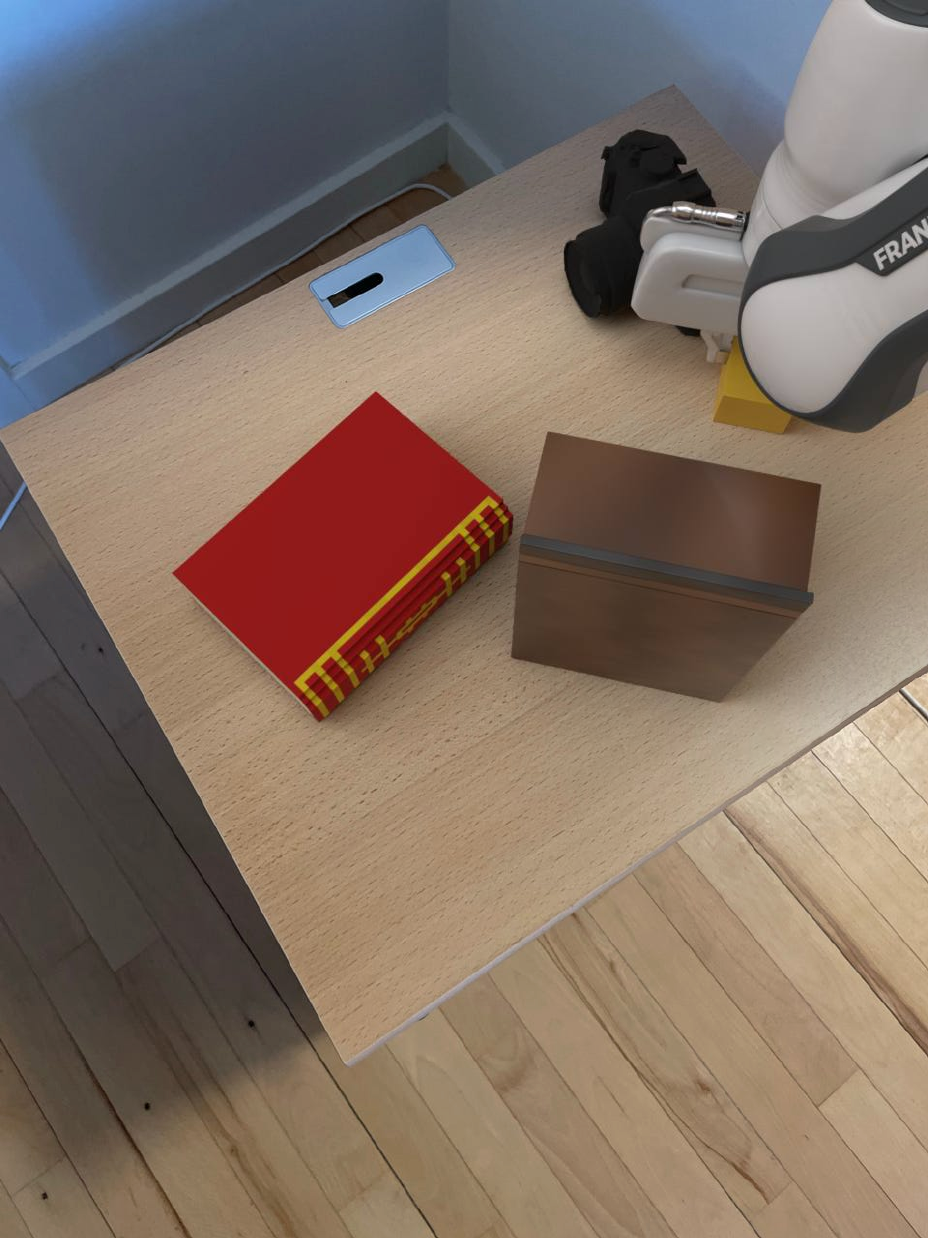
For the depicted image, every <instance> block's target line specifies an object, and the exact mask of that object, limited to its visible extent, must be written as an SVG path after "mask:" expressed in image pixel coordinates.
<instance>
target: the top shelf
mask: <svg viewBox="0 0 928 1238" xmlns="http://www.w3.org/2000/svg"><path fill="white" fill-rule="evenodd" d="M540 456H541V457H540V461H539V465H538V469H537V473H536V478H535V483H534V487H533V491H532V496H531V499H530V504H529V508H528V513H527V516H526V521H525V526H524V530H523V533H521V536H520V540H519V546H518V547H519V549H518V560H520V561H524V562H529V563H534V564H538V565H543V566H548V567H553V568H558V569H563V570H567V571H572V572H577V573H582V574H587V575H592V576H596V577H601V578H606V579H611V580H616V581H621V582H625V583H630V584H635V585H640V586H645V587H650V588H654V589H659V590H664V591H669V592H674V593H679V594H683V595H688V596H693V597H698V598H703V599H708V600H712V601H717V602H722V603H727V604H732V605H737V606H741V607H746V608H751V609H756V610H761V611H766V612H770V613H775V614H780V615H785V616H790V617H795V618H798V619H800V618H801V617H802V616H803V615H804V613H805V612H807V611H808V609H809V608H810V607H811V606H813V604H814V598H815V592H813V591H809V583H810V576H811V568H812V561H813V554H814V552H813V551H814V545H815V537H816V529H817V522H818V515H819V506H820V499H821V492H822V484H821V483H817V482H812V481H806V480H802V479H797V478H791V477H786V476H781V475H777V474H771V473H765V472H760V471H755V470H751V469H750V470H749V469H746V468H745V469H744V468H740V467H735V466H730V465H725V464H719V463H715V462H709V461H705V460H699V459H694V458H688V457H682V456H678V455H673V454H669V453H668V454H667V453H662V452H657V451H651V450H646V449H642V448H636V447H631V446H626V445H621V444H617V443H612V442H606V441H601V440H595V439H592V438H591V439H590V438H585V437H580V436H575V435H571V434H570V435H569V434H565V433H558V432H553V431H547V432H546V435H545V439H544V444H543V447H542V452H541V455H540Z"/></svg>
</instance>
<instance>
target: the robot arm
mask: <svg viewBox="0 0 928 1238" xmlns="http://www.w3.org/2000/svg"><path fill="white" fill-rule="evenodd" d="M640 243H641V246H642V248H643V250H644V253H643V256H642V258H641V262H640V265H639V269H638V273H637V277H636V282H635V286H634V290H633V296H632V301H631V306H632V307H631V308H632V309H633V311H634V313H635V314H636V315H637V316H638V317H639V318H640V319H642V320H645V321H650V322H657V323H662V324H666V325H667V324H668V325H672V326H673V325H674V326H675V325H678V326H684V327H690V328H695V329H701V332H700V336H701V338H702V340H703V342H704V343H705V344H706V347H707V353H706V363H715V364H720V365H722V364H726V363H727V359H728V358H729V355H730V353H731V348H732V341H733V336H738V341H739V346H740V351H741V354H742V357H743V360H744V363H745V365H746V368H747V370H748V372H749V374H750V376H751V377H752V379H753V381H754V382H755V384H756V385H757V387H758V388H759V389H760V391H761V392H762V393H763V394H764V395H765V396H766V397H767V398H768V399H769V400H770V401H771V402H772V403H773V404H774V405H776V406H777V407H778V408H780V409H782V410H783V411H785V412H787V413H789V414H791V415H792V417H794V418H797V419H800V420H801V421H804V422H807V423H810V424H812V425H814V426H819V427H822V428H826V429H830V430H834V431H839V432H845V433H849V434H850V433H851V434H861V433H865V432H868V431H870V430H872V429H873V428H875V427H876V426H878V425H880V424H881V423H882V422H884V421H886V420H887V419H889V418H890V417H891V416H893V415H895V414H896V413H898V412H899V411H900V410H902V409H904V408H905V407H907V406H909V404H910V403H911V402H913V400H914V399H916V398H918V397H919V396H922V394H924V393H926V392H927V391H928V0H832V1H831V3H830V5H829V7H828V8H827V10H826V12H825V14H824V16H823V18H822V19H821V22H820V24H819V25H818V27H817V30H816V32H815V34H814V36H813V39H812V41H811V43H810V45H809V48H808V50H807V53H806V54H805V57H804V59H803V62H802V64H801V67H800V69H799V72H798V75H797V77H796V80H795V83H794V85H793V89H792V91H791V95H790V97H789V100H788V102H787V106H786V110H785V114H784V121H783V139H781V141H780V142H779V143H778V145H777V146H776V148H775V149H774V150H773V151H772V153H771V155H770V157H769V158H768V160H767V162H766V166H765V168H764V170H763V173H762V176H761V179H760V182H759V184H758V187H757V190H756V193H755V196H754V199H753V202H752V205H751V208H750V210H748V211H746V210H745V211H744V210H739V209H734V208H733V209H732V208H729V207H728V208H727V207H717V206H716V207H713V208H712V207H708V208H707V207H705V206H704V207H703V206H698V205H695V203H691V202H685V201H676V202H673V205H672V206H665V207H660V208H657V209H654V210H650V211H649V212H648V214H647V215H646V217H645V218H644V220H643V224H642V229H641V233H640Z"/></svg>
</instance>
